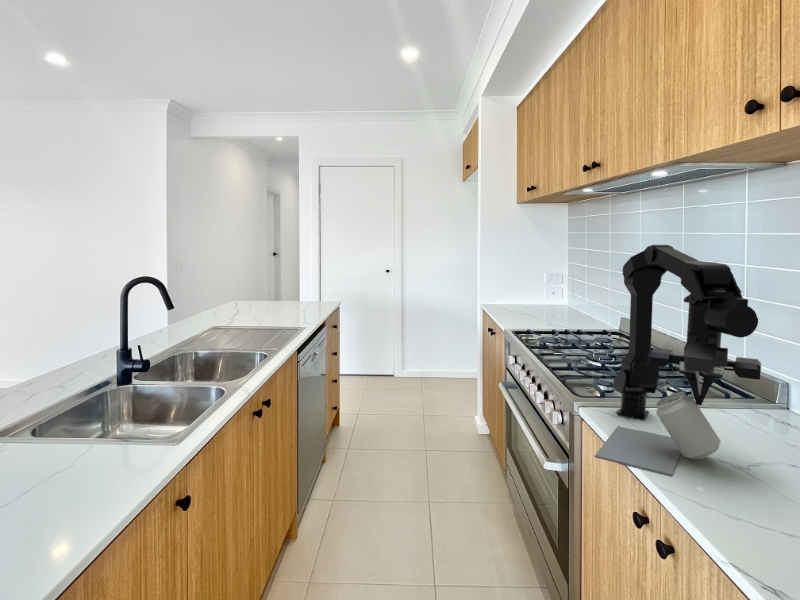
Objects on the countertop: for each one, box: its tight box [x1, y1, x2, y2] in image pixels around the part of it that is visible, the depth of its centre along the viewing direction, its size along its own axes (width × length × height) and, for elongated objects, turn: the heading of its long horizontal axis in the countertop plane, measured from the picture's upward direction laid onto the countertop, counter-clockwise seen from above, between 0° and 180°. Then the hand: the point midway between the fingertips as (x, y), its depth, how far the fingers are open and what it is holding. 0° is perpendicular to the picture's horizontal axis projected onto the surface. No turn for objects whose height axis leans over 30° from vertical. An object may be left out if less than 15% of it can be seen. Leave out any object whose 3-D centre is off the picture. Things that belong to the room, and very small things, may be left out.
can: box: [655, 391, 721, 460], centre depth 98 cm, size 8×8×12 cm
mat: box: [594, 425, 682, 477], centre depth 103 cm, size 20×14×1 cm
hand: (699, 404), depth 97 cm, fingers closed
